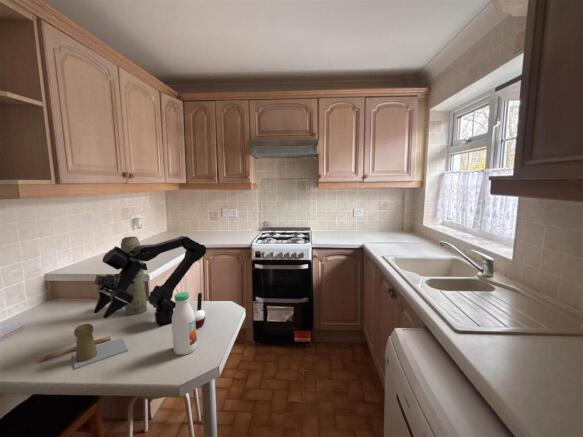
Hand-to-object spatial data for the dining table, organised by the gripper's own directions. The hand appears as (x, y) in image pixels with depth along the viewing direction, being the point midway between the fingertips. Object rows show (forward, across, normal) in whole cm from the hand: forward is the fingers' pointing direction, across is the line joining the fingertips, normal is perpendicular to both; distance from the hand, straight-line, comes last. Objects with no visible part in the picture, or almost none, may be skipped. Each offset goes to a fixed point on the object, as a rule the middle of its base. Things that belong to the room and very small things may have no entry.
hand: (99, 315), depth 99 cm
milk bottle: (-1, +24, +22) cm, 33 cm away
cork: (+13, +1, +4) cm, 13 cm away
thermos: (-6, -24, +23) cm, 34 cm away
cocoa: (-10, +12, +31) cm, 35 cm away
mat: (+10, +1, +7) cm, 13 cm away
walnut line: (+13, -8, +4) cm, 16 cm away
